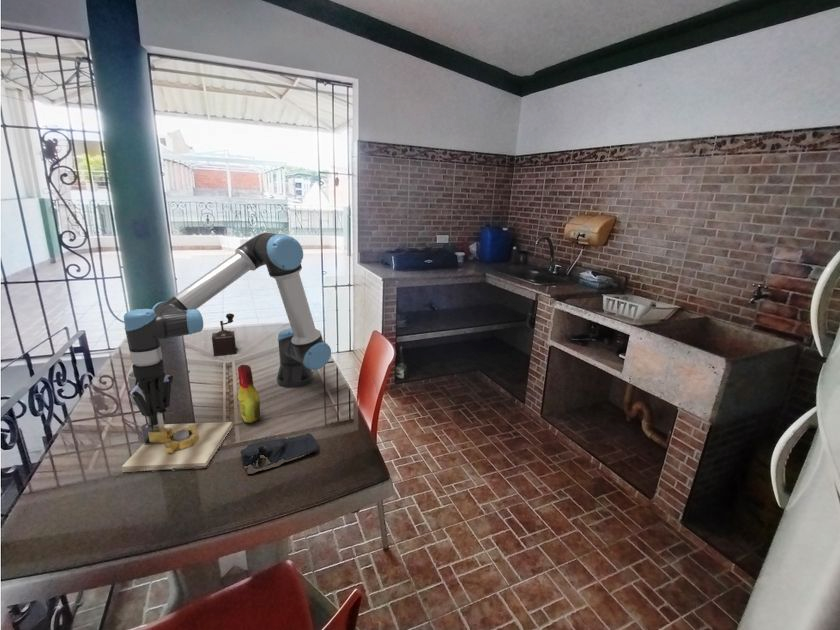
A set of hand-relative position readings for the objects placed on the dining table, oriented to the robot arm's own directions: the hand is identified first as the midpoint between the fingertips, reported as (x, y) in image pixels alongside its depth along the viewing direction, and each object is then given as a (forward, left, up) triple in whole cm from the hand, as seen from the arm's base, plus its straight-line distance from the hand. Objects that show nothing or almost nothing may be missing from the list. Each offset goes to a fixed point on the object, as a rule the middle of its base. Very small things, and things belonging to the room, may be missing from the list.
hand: (160, 431), depth 121 cm
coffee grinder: (+9, -84, -4) cm, 84 cm away
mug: (+20, -32, -4) cm, 38 cm away
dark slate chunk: (-38, +8, -5) cm, 39 cm away
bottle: (-23, -14, -4) cm, 27 cm away
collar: (-4, +3, -2) cm, 5 cm away
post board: (-8, +3, -4) cm, 9 cm away
